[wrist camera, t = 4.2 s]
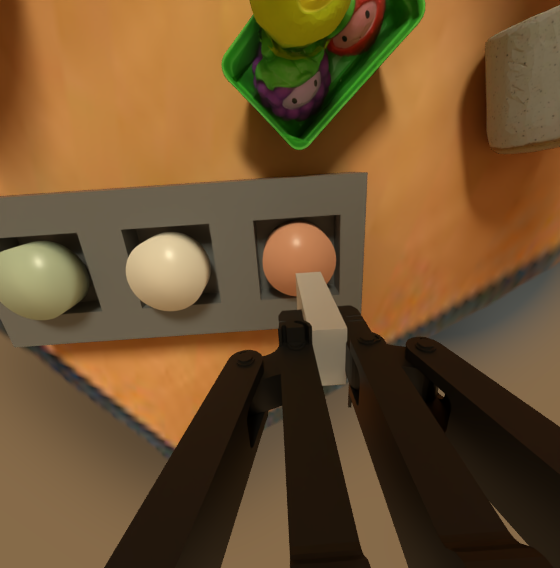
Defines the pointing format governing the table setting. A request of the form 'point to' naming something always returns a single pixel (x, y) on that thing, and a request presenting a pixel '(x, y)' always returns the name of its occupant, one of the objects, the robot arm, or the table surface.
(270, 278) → the terracotta button
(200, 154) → the table surface
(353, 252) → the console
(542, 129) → the ceramic mug
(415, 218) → the table surface
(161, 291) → the cream button
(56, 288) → the sage button
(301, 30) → the fruit basket
